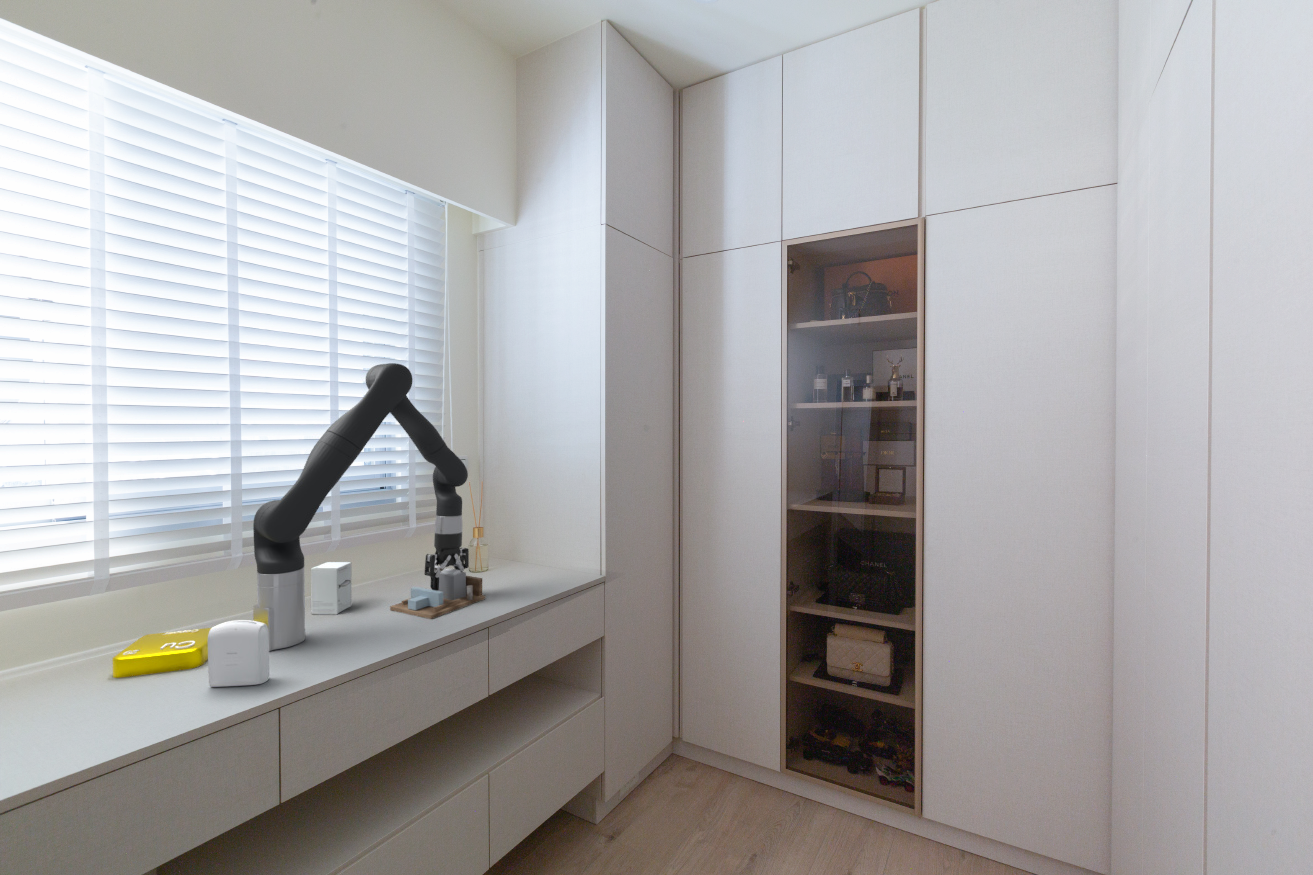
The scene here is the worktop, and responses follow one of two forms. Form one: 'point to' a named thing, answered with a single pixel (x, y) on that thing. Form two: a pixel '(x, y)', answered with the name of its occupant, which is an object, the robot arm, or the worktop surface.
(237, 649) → the photo printer
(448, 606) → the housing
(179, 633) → the element tile
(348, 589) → the supplement box
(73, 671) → the worktop surface
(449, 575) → the block
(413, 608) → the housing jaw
